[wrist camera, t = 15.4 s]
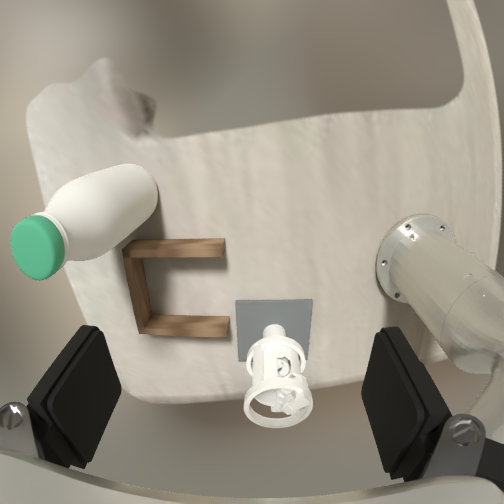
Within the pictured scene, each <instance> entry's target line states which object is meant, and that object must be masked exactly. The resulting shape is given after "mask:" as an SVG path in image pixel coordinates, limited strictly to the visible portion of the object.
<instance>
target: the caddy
mask: <svg viewBox="0 0 504 504" xmlns="http://www.w3.org/2000/svg"><path fill="white" fill-rule="evenodd" d="M224 248H225V238H224V239H165V240H132V241H131V242H130V243H129V244H128V245H127V246H126V247H125V248H124V249H122V252H123V258H124V264H125V270H126V275H127V281H128V286H129V291H130V296H131V300H132V305H133V310H134V314H135V319H136V323H137V327H138V331H139V334H150V335H167V336H190V337H227V336H228V330H229V323H230V321H229V316H184V315H156V314H152V312H151V307H150V302H149V297H148V291H147V285H146V279H145V273H144V267H143V261H142V258H158V257H222V255H223V252H224Z"/></svg>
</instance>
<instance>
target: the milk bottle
mask: <svg viewBox="0 0 504 504" xmlns="http://www.w3.org/2000/svg"><path fill="white" fill-rule="evenodd" d="M157 201H158V191H157V186H156V183H155V181H154V179H153V177H152V176H151V175H150V173H149V172H148V171H147V170H145V169H144V168H142V167H141V166H138V165H135V164H122V165H118V166H114V167H110V168H107V169H103V170H100V171H97V172H93V173H90V174H87V175H84V176H82V177H79V178H77V179H74V180H72V181H70V182H69V183H67V184H65V185H64V186H63V187H61V188H60V189H59V190H58V191H57V192H56V193H55V194H54V196H53V197H52V198H51V200H50V202H49V203H48V205H47V207H46V209H45V210H44V212H40V213H36V214H34V215H32V216H30V217H27V218H25V219H23V220H22V221H20V222H19V223H18V224H17V225H16V226H15V228H14V229H13V231H12V235H11V251H12V254H13V257H14V259H15V262H16V264H17V265H18V267H19V268H20V270H21V271H22V272H23V273H24V274H25V275H27V276H28V277H30V278H32V279H34V280H44V279H47V278H49V277H50V276H52V275H53V274H55V273H56V272H57V271H58V270H59V269H60V268H62V267H63V266H64V265H65V263H66V262H67V261H69V260H73V261H85V260H91V259H94V258H97V257H99V256H101V255H103V254H105V253H107V252H108V251H109V250H111V249H112V248H113V247H115V246H116V245H117V244H119V243H120V242H121V241H122V240H123V239H125V238H126V237H127V236H128V235H129V234H131V233H132V232H133V231H134V230H135V229H137V228H138V227H139V226H140V225H141V224H143V223H144V222H145V221H146V220H147V219H148V218H149V217H150V216H151V215H152V214H153V212H154V210H155V208H156V205H157Z"/></svg>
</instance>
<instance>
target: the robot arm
mask: <svg viewBox="0 0 504 504" xmlns="http://www.w3.org/2000/svg"><path fill="white" fill-rule="evenodd" d="M406 225H407V226H406ZM405 226H406V227H405ZM383 260H384V261H383ZM382 261H383V262H382ZM376 272H377V277H378V280H379V283H380V285H381V287H382V288H383V290H384V291H385V292H386V293H387V294H388V296H389V297H391V298H392V299H394V300H396V301H398V302H401V303H408V304H410V306H411V307H412V308H413V310H414V311H415V312H416V314H417V315H418V316H419V318H420V319H421V320H422V322H423V323H424V324H425V326H426V327H427V328H428V330H429V331H430V332H431V334H432V335H433V337H434V338H435V339H436V341H437V342H438V344H439V345H440V346H441V348H442V349H443V351H444V352H445V354H446V355H447V356H448V358H449V359H450V360H451V362H452V363H453V364H454V365H455V366H457V367H458V368H460V369H461V370H464V371H466V372H470V373H477V374H489V373H491V377H490V379H489V381H488V383H487V384H486V386H485V387H484V388H483V390H482V391H481V392H480V394H479V396H478V397H477V398H476V399H475V401H474V402H473V403H472V404H471V405H470V406H469V408H468V409H467V410H466V411H465V412H464V413H463V414H456V415H454V416H452V415H451V412H450V410H449V409H448V407H447V405H446V403H445V401H444V399H443V398H442V396H441V394H440V392H439V390H438V389H437V387H436V385H435V383H434V382H433V380H432V378H431V376H430V375H429V373H428V371H427V370H426V368H425V366H424V365H423V363H422V362H420V361H419V359H418V358H417V356H416V354H415V353H414V351H413V349H412V348H411V346H410V344H409V343H408V341H407V340H406V338H405V336H404V335H403V333H402V331H401V330H400V328H399V327H387V328H382V329H381V330H380V332H378V333H376V335H375V338H374V343H373V347H372V351H371V355H370V359H369V363H368V367H367V371H366V375H365V379H364V382H363V386H362V391H361V395H362V400H363V403H364V406H365V409H366V412H367V415H368V418H369V422H370V425H371V428H372V431H373V435H374V438H375V441H376V444H377V448H378V451H379V455H380V458H381V462H382V465H383V469H384V471H385V472H386V473H388V472H389V473H390V477H391V479H392V480H393V479H397V478H402V477H403V479H404V483H398V484H394V485H389V486H384V487H378V488H373V489H367V490H361V491H354V492H346V493H339V494H331V495H322V496H311V497H296V498H270V499H269V498H266V499H254V498H253V499H252V498H250V499H249V498H224V497H209V496H198V495H189V494H180V493H172V492H166V491H160V490H154V489H148V488H143V487H138V486H133V485H128V484H124V483H119V482H115V481H111V480H107V479H103V478H99V477H96V476H92V475H88V474H85V473H82V472H79V471H75V470H72V469H69V467H70V465H73V466H76V467H79V468H82V469H85V467H86V464H87V462H88V463H89V462H91V461H92V459H93V456H94V454H95V451H96V449H97V447H98V444H99V442H100V440H101V437H102V435H103V433H104V430H105V428H106V426H107V424H108V421H109V419H110V417H111V415H112V412H113V410H114V408H115V406H116V403H117V401H118V399H119V397H120V395H121V384H120V381H119V378H118V376H117V373H116V370H115V367H114V364H113V361H112V358H111V355H110V352H109V349H108V346H107V343H106V340H105V336H104V334H103V332H102V331H100V330H99V328H98V327H96V326H87V325H82V326H81V327H80V328H79V329H78V331H77V332H76V333H75V335H74V336H73V337H72V338H71V340H70V341H69V342H68V344H67V345H66V346H65V348H64V349H63V350H62V351H61V353H60V354H59V355H58V357H57V358H56V359H55V361H54V362H53V363H52V365H51V366H50V367H49V369H48V370H47V371H46V373H45V374H44V376H43V377H42V378H41V380H40V381H39V383H38V384H37V385H36V387H35V388H34V390H33V391H32V393H31V394H30V395H29V397H28V398H27V401H28V402H29V404H28V405H27V407H26V406H25V405H24V404H22V403H20V402H9V403H7V404H5V405H3V406H2V407H1V408H0V504H504V277H502V276H501V275H499V274H498V273H497V272H496V271H494V270H493V269H492V268H490V267H489V266H488V265H486V264H485V263H484V262H482V261H481V260H479V259H478V258H477V257H476V254H475V253H474V252H468V251H467V250H465V249H464V248H462V247H461V246H459V245H458V244H457V243H456V239H455V236H454V234H453V232H452V230H451V228H450V227H449V226H448V225H447V224H446V223H445V222H444V221H442V220H441V219H439V218H437V217H435V216H432V215H427V214H419V215H414V216H411V217H409V218H406V219H404V220H403V221H401V222H400V223H398V224H397V225H396V226H395V227H394V228H393V229H391V231H390V232H389V233H388V235H387V236H386V237H385V239H384V241H383V243H382V244H381V247H380V249H379V252H378V256H377V262H376Z"/></svg>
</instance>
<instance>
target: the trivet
mask: <svg viewBox="0 0 504 504" xmlns="http://www.w3.org/2000/svg"><path fill="white" fill-rule="evenodd" d="M235 303H236V322H237V341H238V358H239V361H247V354H248V351H249V349H250V348H251V346H252V345H253V344H254V343H256V342H257V341H259V340H261V339H263V331H264V329H265V328H266V327H267V326H269V325H272V324H277V325H280V326H282V327H283V328H284V329H285V333H286V337H288V338H291V339H293V340H295V341H296V342H298V343H299V344H300V346H301V347H302V348H303V351H304V355H305V360H307V358H308V348H309V338H310V327H311V316H312V304H313V301H312V299H303V300H236V302H235ZM297 353H298V352H297ZM298 357H299V360H300V358H301V357H300V355H299V354H298ZM251 361H253V357H252V359H251ZM288 361H290V360H288Z"/></svg>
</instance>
